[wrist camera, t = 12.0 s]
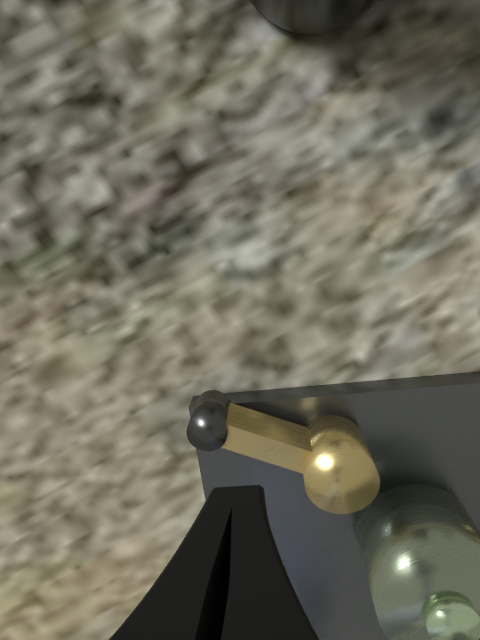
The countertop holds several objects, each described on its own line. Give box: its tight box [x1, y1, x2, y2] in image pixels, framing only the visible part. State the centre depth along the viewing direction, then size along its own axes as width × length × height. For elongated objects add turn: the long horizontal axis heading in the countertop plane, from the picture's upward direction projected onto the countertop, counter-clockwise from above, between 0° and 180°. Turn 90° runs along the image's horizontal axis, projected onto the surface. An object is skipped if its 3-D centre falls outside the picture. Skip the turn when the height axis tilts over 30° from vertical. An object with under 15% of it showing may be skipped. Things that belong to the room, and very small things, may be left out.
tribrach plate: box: [189, 372, 480, 640], centre depth 19 cm, size 17×22×6 cm
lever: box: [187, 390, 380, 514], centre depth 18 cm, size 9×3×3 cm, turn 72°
